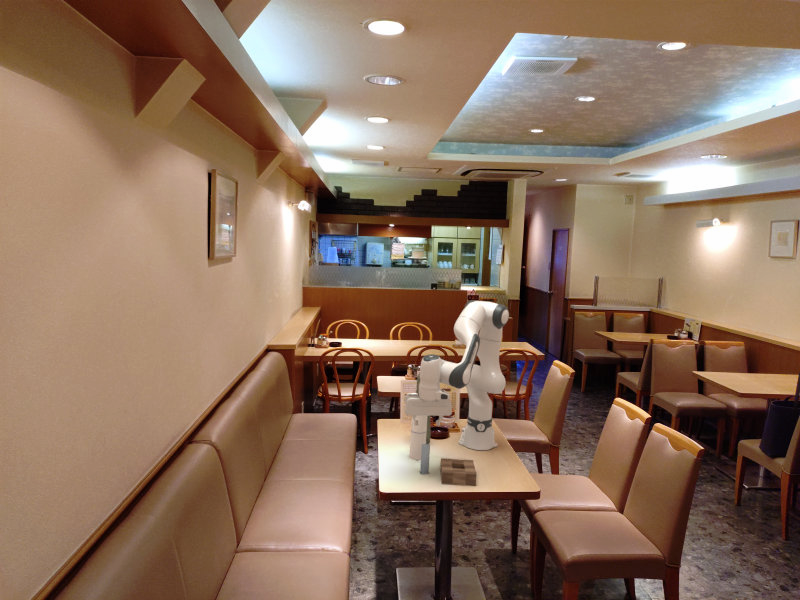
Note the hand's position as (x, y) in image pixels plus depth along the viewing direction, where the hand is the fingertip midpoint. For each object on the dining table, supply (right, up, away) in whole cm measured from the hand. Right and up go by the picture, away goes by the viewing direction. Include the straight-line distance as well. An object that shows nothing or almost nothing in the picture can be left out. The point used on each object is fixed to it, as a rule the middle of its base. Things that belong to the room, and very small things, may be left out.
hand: (427, 425), depth 231 cm
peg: (-1, -21, +2) cm, 21 cm away
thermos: (-1, -17, +37) cm, 41 cm away
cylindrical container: (-4, -19, +18) cm, 27 cm away
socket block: (+13, -22, -1) cm, 25 cm away
